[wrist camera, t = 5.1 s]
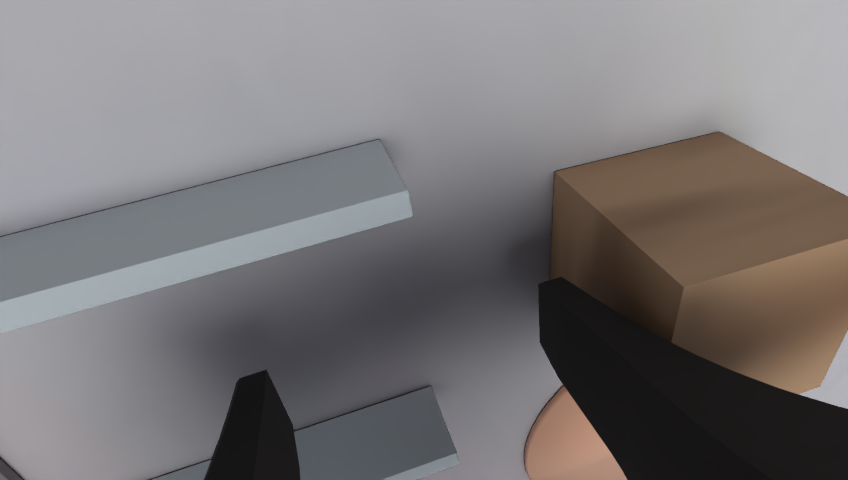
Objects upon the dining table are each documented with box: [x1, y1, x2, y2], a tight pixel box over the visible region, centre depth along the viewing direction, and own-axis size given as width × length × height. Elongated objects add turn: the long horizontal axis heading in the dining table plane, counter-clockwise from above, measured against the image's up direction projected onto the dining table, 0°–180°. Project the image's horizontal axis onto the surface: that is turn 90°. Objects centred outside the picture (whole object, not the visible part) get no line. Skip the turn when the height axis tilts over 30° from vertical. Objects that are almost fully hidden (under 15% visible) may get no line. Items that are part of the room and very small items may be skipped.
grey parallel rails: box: [0, 139, 459, 480], centre depth 13 cm, size 9×10×2 cm
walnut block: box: [550, 132, 848, 394], centre depth 14 cm, size 5×5×5 cm
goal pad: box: [524, 386, 627, 480], centre depth 22 cm, size 10×10×1 cm
